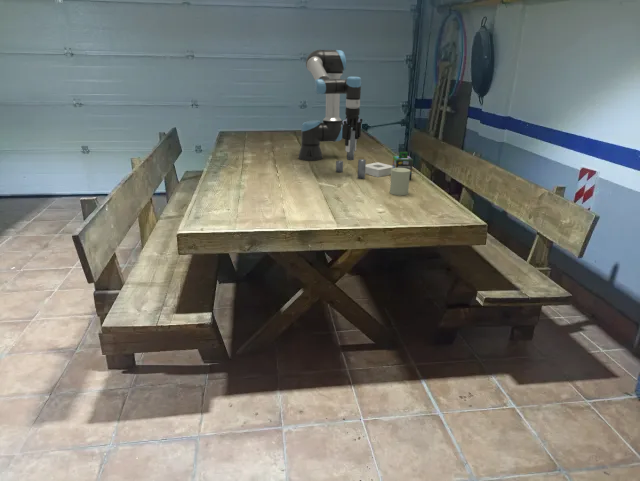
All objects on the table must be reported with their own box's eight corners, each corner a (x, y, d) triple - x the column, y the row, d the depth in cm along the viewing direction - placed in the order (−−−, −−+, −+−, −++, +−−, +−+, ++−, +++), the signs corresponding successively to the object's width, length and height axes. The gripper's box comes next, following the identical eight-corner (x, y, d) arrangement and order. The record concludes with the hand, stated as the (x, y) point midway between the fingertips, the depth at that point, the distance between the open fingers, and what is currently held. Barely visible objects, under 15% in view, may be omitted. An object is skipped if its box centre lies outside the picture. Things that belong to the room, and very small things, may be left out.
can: (388, 190, 243) (390, 166, 239) (407, 190, 243) (409, 166, 239) (390, 195, 235) (392, 170, 230) (409, 195, 235) (411, 171, 230)
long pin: (345, 159, 269) (346, 130, 263) (350, 158, 271) (351, 129, 265) (350, 160, 266) (351, 131, 260) (355, 159, 268) (356, 130, 262)
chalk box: (407, 176, 271) (409, 149, 265) (411, 180, 262) (414, 153, 257) (391, 176, 270) (393, 149, 265) (394, 180, 262) (396, 153, 256)
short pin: (334, 171, 278) (334, 161, 276) (339, 170, 280) (339, 160, 278) (339, 172, 275) (339, 162, 273) (344, 172, 277) (344, 161, 275)
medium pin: (356, 177, 265) (356, 159, 261) (361, 176, 267) (362, 158, 264) (361, 179, 262) (362, 161, 258) (366, 178, 264) (367, 160, 261)
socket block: (360, 172, 277) (360, 165, 276) (377, 168, 286) (378, 162, 284) (378, 177, 267) (378, 170, 266) (395, 173, 276) (395, 166, 274)
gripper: (345, 109, 250) (343, 154, 259) (369, 107, 260) (366, 150, 269) (336, 107, 255) (334, 151, 264) (359, 105, 265) (357, 148, 274)
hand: (350, 151), depth 267 cm, fingers closed on long pin, 4 cm apart
